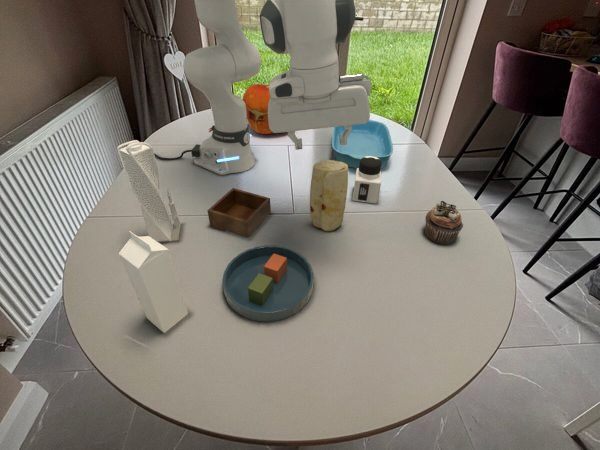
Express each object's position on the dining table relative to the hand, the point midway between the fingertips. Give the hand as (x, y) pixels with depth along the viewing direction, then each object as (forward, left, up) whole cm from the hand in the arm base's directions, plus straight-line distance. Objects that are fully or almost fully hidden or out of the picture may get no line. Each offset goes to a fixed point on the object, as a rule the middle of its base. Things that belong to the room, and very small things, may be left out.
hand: (321, 146), depth 71 cm
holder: (-23, +1, -28) cm, 36 cm away
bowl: (-4, -18, -28) cm, 34 cm away
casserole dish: (-5, +58, -28) cm, 65 cm away
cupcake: (+30, +19, -28) cm, 45 cm away
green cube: (-4, -21, -27) cm, 35 cm away
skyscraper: (-38, -14, -28) cm, 50 cm away
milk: (-19, -34, -28) cm, 48 cm away
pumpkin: (-46, +63, -28) cm, 83 cm away
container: (+6, +29, -28) cm, 41 cm away
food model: (0, +9, -28) cm, 29 cm away
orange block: (-4, -14, -27) cm, 31 cm away
